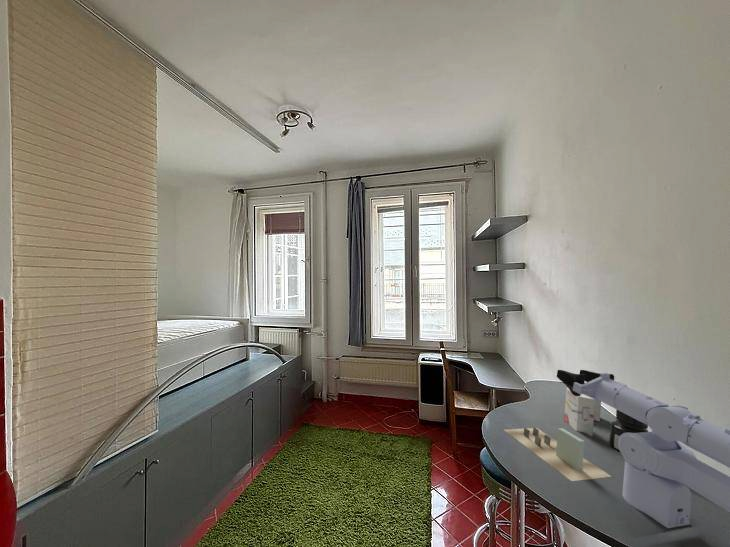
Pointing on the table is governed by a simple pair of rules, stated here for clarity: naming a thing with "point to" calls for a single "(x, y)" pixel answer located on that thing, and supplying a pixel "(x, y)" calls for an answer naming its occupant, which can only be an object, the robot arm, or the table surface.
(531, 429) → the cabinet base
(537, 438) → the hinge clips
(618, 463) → the table surface
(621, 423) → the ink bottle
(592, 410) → the ink cartridge box
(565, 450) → the pale green flat block
